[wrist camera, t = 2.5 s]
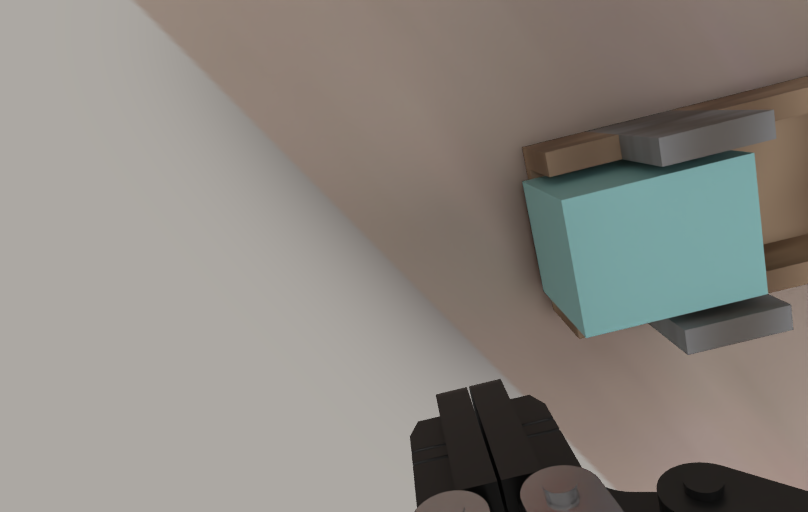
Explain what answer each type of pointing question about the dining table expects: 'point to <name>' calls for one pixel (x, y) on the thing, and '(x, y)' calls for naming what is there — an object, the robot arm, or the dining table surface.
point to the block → (648, 239)
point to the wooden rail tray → (702, 136)
